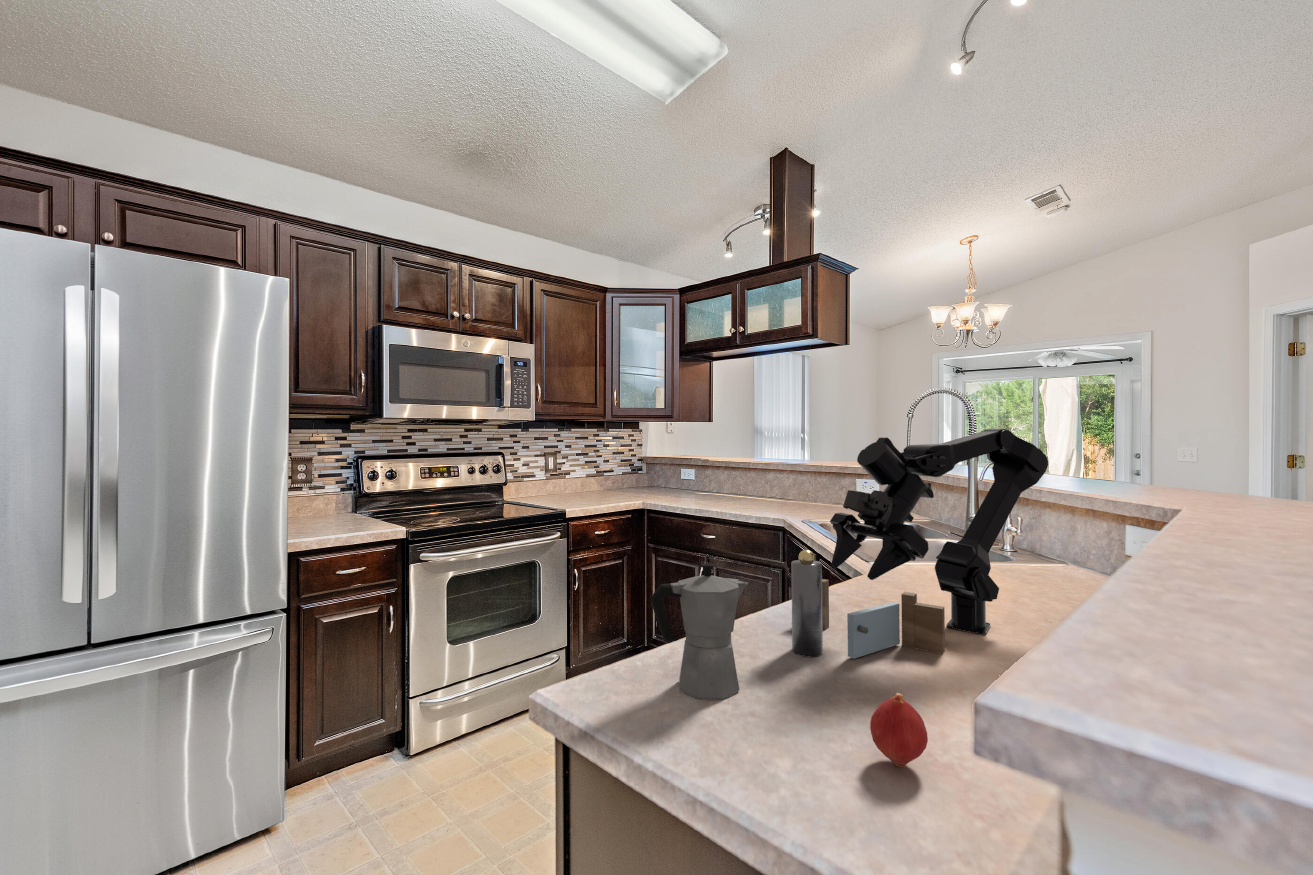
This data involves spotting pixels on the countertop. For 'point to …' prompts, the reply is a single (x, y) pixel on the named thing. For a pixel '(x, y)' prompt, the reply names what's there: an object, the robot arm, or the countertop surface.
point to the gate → (873, 629)
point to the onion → (898, 731)
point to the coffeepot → (704, 632)
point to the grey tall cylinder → (807, 605)
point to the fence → (909, 622)
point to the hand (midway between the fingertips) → (850, 572)
